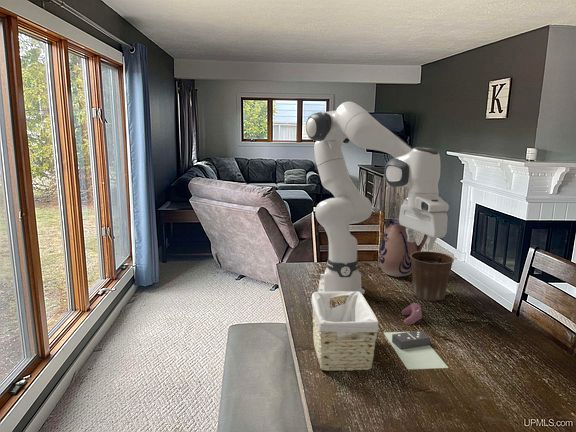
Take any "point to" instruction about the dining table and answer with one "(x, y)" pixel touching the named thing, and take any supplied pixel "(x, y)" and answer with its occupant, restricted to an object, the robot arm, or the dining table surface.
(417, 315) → the video game controller
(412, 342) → the domino
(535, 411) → the dining table surface
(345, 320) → the storage basket
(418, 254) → the plant pot
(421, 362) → the mat
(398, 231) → the ceramic pitcher
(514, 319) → the dining table surface
